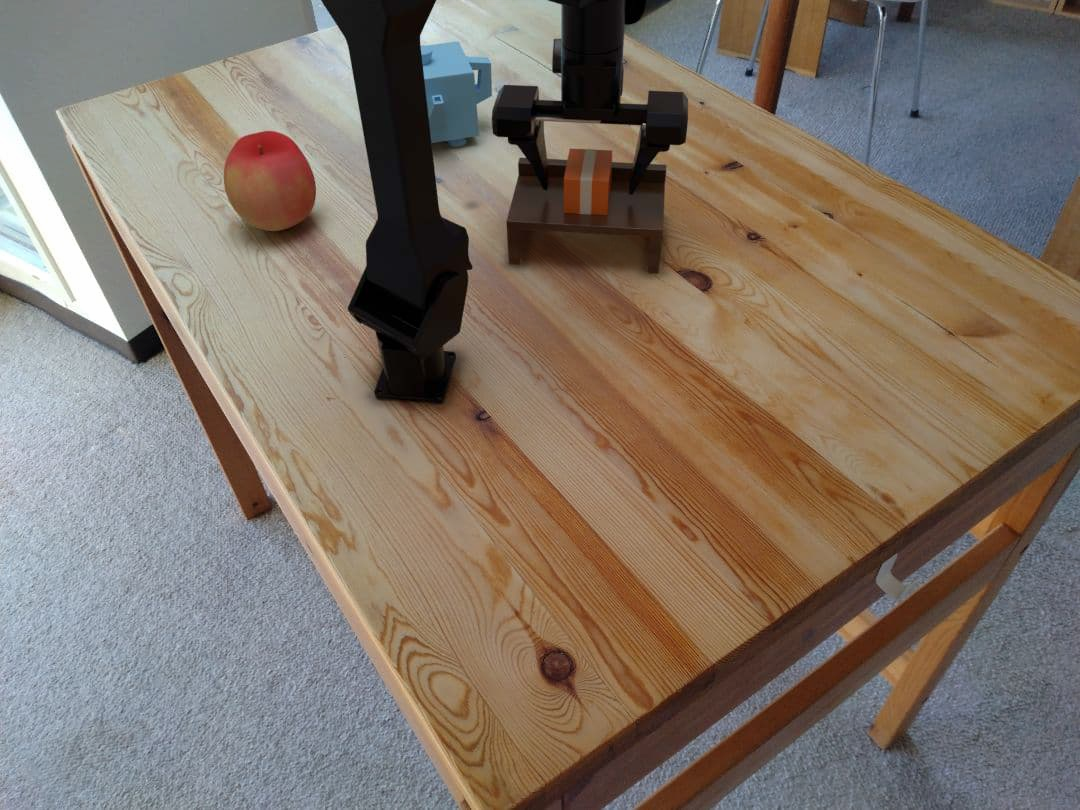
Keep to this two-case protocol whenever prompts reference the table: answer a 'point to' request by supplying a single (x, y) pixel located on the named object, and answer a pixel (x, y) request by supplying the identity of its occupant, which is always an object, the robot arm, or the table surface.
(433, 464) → the table surface
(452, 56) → the teapot
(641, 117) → the robot arm
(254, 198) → the apple
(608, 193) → the package
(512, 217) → the shelf
